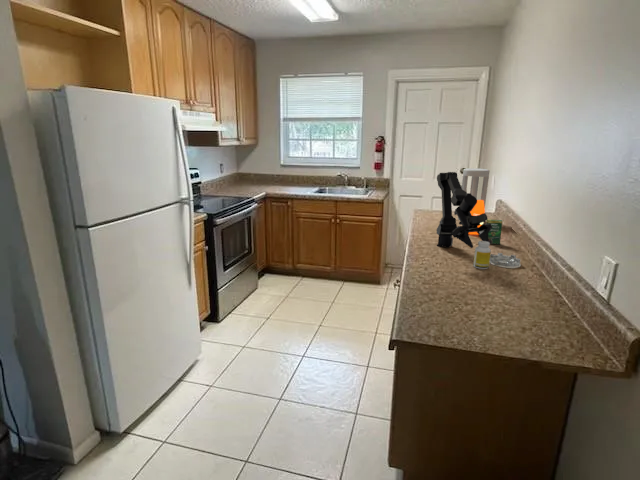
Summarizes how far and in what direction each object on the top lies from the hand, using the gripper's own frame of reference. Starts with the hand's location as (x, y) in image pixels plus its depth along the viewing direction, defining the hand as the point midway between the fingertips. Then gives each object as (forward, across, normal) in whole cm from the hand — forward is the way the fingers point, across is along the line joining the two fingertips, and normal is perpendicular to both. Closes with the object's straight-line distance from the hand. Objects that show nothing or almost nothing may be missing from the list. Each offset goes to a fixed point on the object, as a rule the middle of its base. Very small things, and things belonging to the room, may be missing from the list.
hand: (480, 246), depth 173 cm
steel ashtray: (+7, +14, +6) cm, 17 cm away
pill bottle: (+8, 0, +6) cm, 10 cm away
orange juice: (-28, +42, +41) cm, 65 cm away
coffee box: (-12, +35, +25) cm, 45 cm away
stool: (-46, +63, +58) cm, 98 cm away
